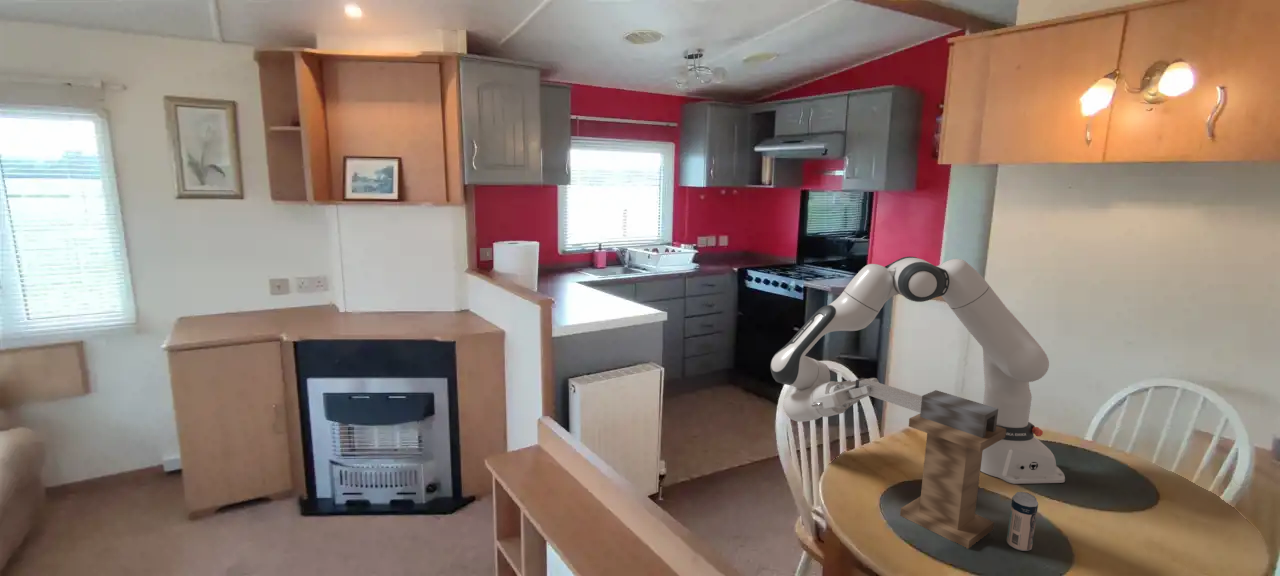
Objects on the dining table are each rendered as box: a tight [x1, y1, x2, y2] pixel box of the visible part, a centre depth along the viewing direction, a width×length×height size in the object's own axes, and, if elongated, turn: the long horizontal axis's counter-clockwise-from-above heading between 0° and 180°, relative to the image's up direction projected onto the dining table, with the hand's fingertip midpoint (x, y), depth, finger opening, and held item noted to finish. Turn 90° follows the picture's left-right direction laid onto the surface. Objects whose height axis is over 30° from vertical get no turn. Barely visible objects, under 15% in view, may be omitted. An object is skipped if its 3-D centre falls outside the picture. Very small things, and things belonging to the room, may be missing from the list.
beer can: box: [1006, 491, 1039, 552], centre depth 132 cm, size 5×5×12 cm
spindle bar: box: [855, 377, 923, 414], centre depth 148 cm, size 22×3×3 cm, turn 36°
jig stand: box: [899, 389, 1006, 550], centre depth 139 cm, size 16×12×30 cm
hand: (873, 387), depth 153 cm, fingers closed on spindle bar, 3 cm apart
